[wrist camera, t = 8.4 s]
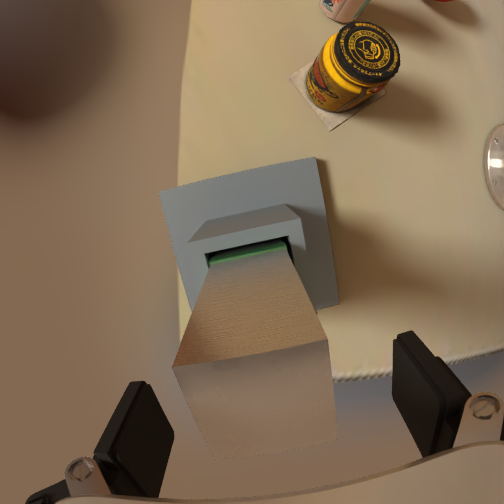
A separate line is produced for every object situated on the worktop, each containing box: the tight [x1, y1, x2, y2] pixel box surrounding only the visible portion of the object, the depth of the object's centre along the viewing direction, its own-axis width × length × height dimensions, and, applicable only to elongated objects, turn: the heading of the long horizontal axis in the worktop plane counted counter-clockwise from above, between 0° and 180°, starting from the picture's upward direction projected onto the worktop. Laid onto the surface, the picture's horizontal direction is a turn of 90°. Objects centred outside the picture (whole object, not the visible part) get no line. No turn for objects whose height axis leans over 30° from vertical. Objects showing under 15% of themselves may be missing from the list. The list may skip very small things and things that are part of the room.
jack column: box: [172, 237, 338, 460], centre depth 18 cm, size 5×5×17 cm
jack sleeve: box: [159, 157, 339, 314], centre depth 28 cm, size 16×16×12 cm
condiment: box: [288, 21, 400, 131], centre depth 24 cm, size 7×8×12 cm
